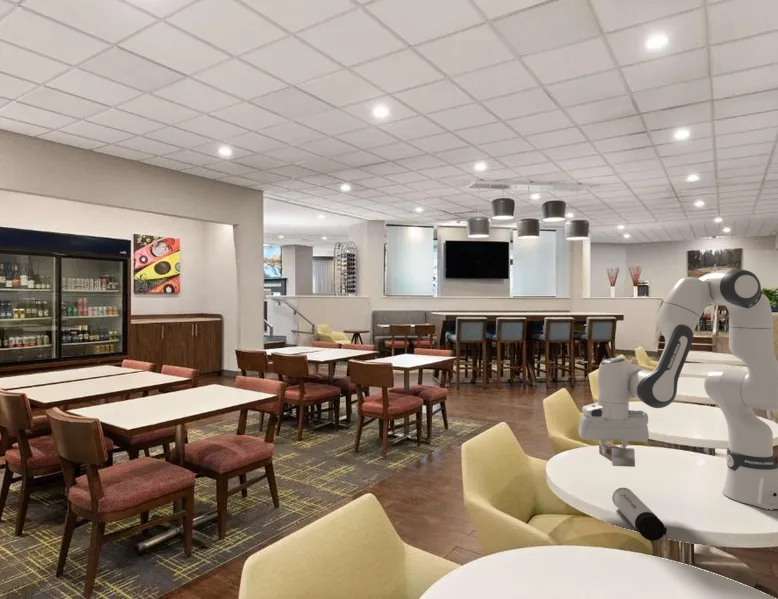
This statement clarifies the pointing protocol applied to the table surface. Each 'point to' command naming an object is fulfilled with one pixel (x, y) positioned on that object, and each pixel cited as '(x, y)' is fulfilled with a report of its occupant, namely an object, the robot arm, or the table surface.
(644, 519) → the travel mug
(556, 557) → the table surface
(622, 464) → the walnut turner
